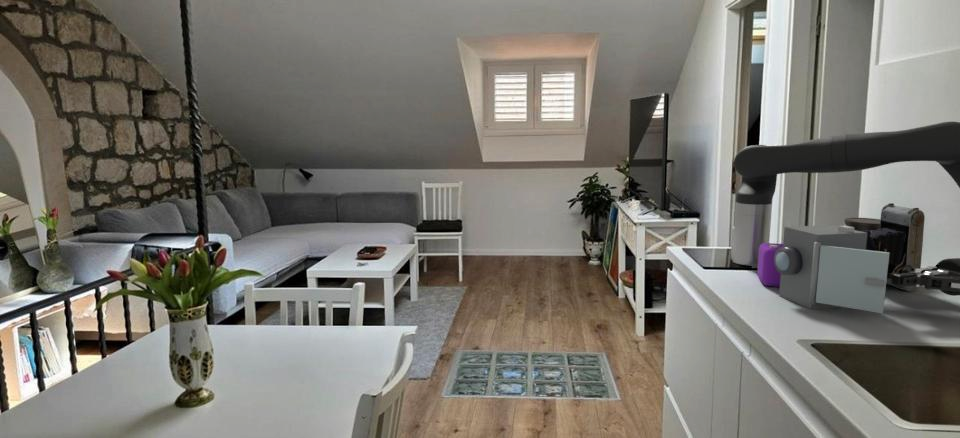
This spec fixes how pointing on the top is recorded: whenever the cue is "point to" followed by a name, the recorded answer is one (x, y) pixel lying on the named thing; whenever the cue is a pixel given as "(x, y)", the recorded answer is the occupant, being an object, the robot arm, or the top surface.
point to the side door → (849, 277)
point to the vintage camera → (899, 239)
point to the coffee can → (863, 223)
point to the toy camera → (768, 264)
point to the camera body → (809, 257)
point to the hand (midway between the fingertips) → (895, 280)
